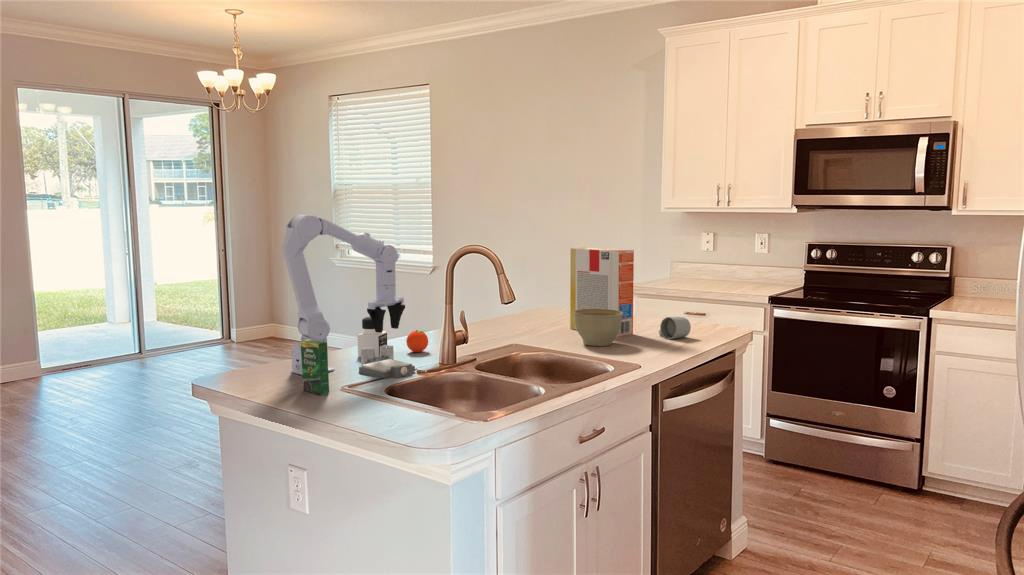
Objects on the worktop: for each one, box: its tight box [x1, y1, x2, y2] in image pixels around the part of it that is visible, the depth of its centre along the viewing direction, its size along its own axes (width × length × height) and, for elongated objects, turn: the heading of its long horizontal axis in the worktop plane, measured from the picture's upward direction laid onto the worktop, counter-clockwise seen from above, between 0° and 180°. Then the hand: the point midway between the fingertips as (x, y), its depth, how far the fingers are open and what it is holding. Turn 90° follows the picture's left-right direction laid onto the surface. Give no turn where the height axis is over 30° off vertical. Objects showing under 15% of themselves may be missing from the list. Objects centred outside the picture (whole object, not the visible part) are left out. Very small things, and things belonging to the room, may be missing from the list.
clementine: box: [406, 329, 429, 353], centre depth 236 cm, size 8×7×7 cm
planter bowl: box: [574, 309, 623, 347], centre depth 247 cm, size 16×16×11 cm
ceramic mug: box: [658, 316, 692, 340], centre depth 258 cm, size 11×8×8 cm
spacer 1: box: [360, 348, 376, 365], centre depth 217 cm, size 4×4×5 cm
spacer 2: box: [379, 344, 395, 361], centre depth 220 cm, size 4×4×5 cm
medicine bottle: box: [356, 316, 388, 359], centre depth 231 cm, size 7×7×12 cm
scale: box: [358, 359, 416, 379], centre depth 208 cm, size 11×13×3 cm
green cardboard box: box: [299, 339, 330, 396], centre depth 187 cm, size 8×3×13 cm, turn 49°
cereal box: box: [569, 246, 635, 338], centre depth 269 cm, size 23×8×30 cm, turn 42°
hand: (386, 330), depth 222 cm, fingers open, 7 cm apart
